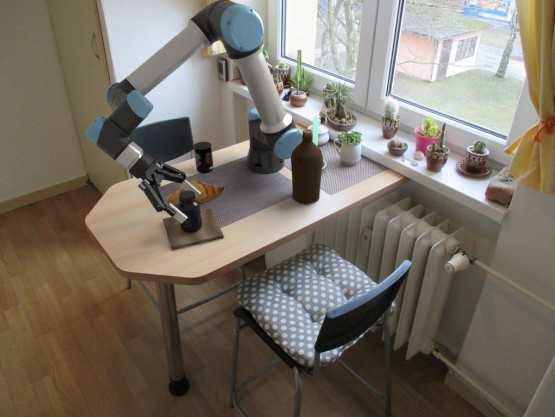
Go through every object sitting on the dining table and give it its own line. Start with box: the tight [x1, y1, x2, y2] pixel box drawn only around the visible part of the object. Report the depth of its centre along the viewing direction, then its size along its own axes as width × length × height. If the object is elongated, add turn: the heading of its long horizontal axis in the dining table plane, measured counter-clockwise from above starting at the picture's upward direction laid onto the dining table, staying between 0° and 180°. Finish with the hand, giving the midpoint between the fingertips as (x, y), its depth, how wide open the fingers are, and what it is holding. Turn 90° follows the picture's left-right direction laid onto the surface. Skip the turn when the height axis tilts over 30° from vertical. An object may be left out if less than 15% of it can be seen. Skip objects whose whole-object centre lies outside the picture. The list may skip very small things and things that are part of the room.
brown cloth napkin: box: [162, 208, 225, 251], centre depth 144 cm, size 16×16×1 cm
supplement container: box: [193, 141, 215, 174], centre depth 174 cm, size 7×7×10 cm
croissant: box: [165, 180, 225, 206], centre depth 158 cm, size 21×10×8 cm, turn 110°
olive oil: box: [290, 128, 324, 205], centre depth 153 cm, size 11×11×25 cm
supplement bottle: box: [176, 191, 202, 233], centre depth 141 cm, size 7×7×12 cm
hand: (191, 207), depth 140 cm, fingers open, 13 cm apart
